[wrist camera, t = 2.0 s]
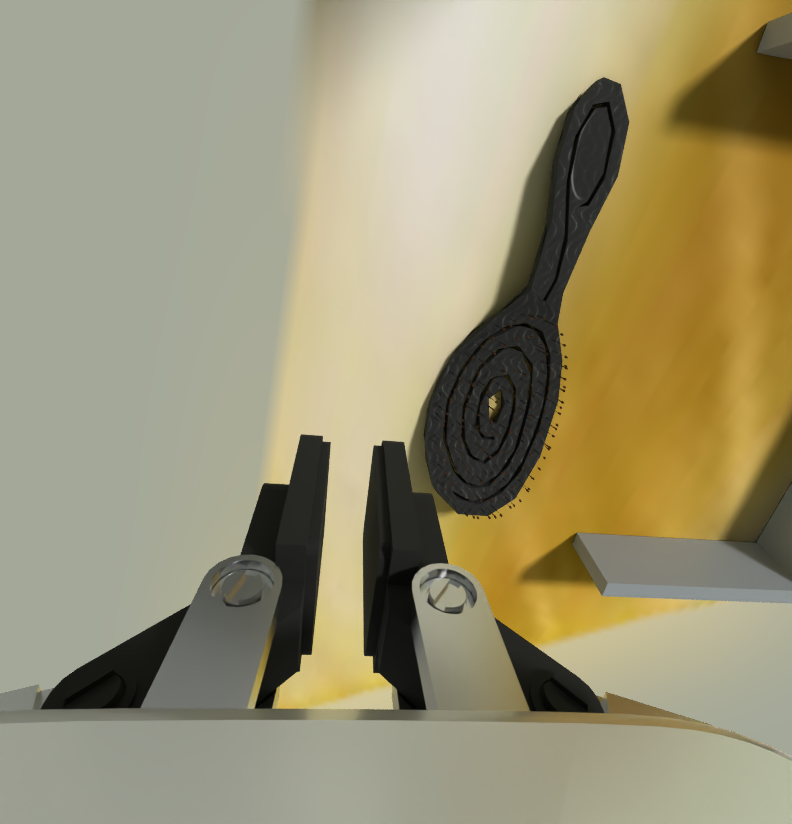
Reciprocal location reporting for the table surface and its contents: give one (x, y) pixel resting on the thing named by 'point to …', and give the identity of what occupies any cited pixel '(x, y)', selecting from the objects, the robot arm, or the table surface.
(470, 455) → the hairbrush
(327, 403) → the table surface
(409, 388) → the table surface
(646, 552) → the box
